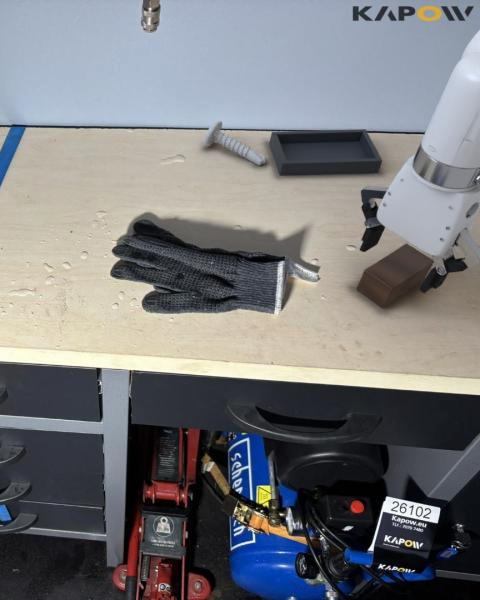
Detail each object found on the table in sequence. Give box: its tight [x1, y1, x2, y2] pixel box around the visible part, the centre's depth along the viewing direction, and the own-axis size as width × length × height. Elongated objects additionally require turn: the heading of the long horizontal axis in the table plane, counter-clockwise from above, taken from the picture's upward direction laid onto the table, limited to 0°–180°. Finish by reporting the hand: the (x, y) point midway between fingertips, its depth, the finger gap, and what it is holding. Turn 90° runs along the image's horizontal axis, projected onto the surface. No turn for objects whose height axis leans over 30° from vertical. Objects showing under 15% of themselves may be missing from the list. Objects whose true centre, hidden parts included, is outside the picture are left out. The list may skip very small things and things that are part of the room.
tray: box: [269, 128, 383, 176], centre depth 106 cm, size 17×10×2 cm, turn 89°
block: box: [355, 242, 434, 309], centre depth 85 cm, size 9×4×4 cm, turn 124°
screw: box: [204, 120, 266, 166], centre depth 108 cm, size 5×12×5 cm
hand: (397, 267), depth 83 cm, fingers open, 9 cm apart
